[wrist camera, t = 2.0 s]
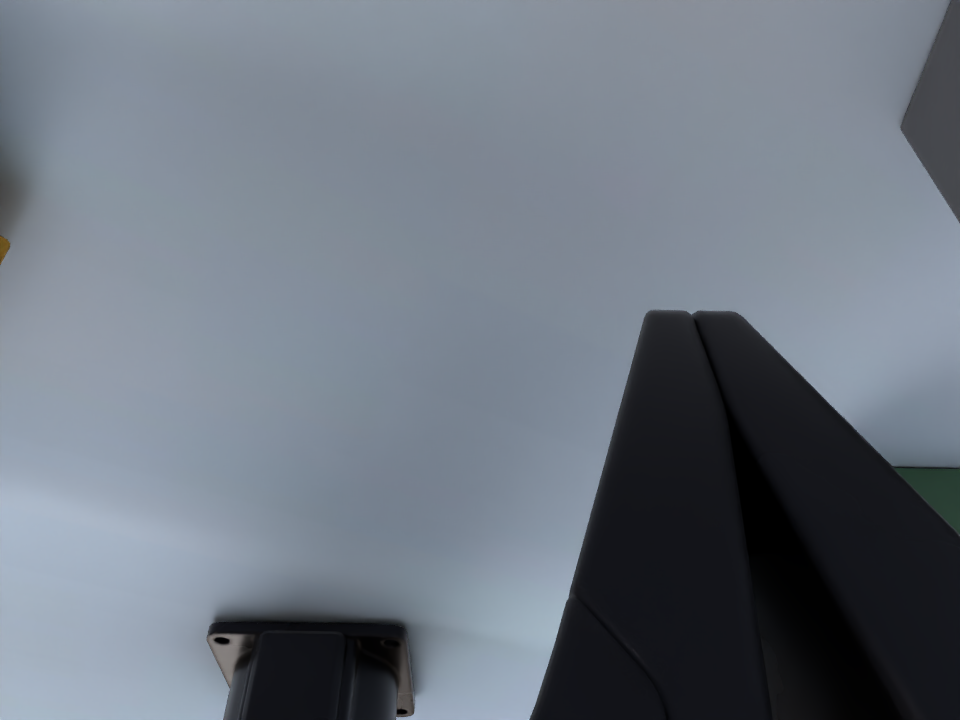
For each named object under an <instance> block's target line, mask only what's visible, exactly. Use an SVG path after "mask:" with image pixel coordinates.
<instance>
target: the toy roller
mask: <svg viewBox="0 0 960 720" xmlns="http://www.w3.org/2000/svg"><path fill="white" fill-rule="evenodd" d="M9 248H10V242H9V241H8V240H7V239H5V238H3V237H2V236H0V265H1V263H2V261H3V259H4V257H5V255H6V253H7V251H8V250H9Z"/></svg>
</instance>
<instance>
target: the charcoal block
mask: <svg viewBox="0 0 960 720" xmlns="http://www.w3.org/2000/svg"><path fill="white" fill-rule="evenodd" d="M901 131H902V133H903V134H904V136H905V137H906V139H907V141H908V142H909V144H910V145H911V147H912V148H913V150H914V152H915V153H916V155H917V156H918V158H919V159H920V161H921V163H922V164H923V166H924V167H925V169H926V170H927V172H928V174H929V175H930V177H931V178H932V180H933V182H934V183H935V185H936V186H937V188H938V189H939V191H940V193H941V194H942V196H943V197H944V199H945V200H946V202H947V204H948V205H949V207H950V208H951V210H952V212H953V213H954V215H955V216H956V218H957V219H958V221H959V223H960V0H951V3H950V5H949V8H948V10H947V13H946V15H945V18H944V20H943V23H942V25H941V28H940V30H939V33H938V35H937V38H936V40H935V42H934V45H933V47H932V50H931V52H930V55H929V57H928V60H927V62H926V65H925V67H924V70H923V72H922V75H921V77H920V80H919V82H918V85H917V87H916V90H915V92H914V95H913V97H912V100H911V102H910V105H909V107H908V110H907V112H906V115H905V117H904V119H903V122H902V124H901Z"/></svg>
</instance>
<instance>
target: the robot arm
mask: <svg viewBox="0 0 960 720" xmlns="http://www.w3.org/2000/svg"><path fill="white" fill-rule="evenodd" d="M207 642H208V644H209V646H210V648H211V650H212V652H213V654H214V656H215V658H216V661H217V663H218V665H219V667H220V669H221V671H222V673H223V675H224V677H225V679H226V681H227V684H228V686H229V688H230V691H229V695H228V700H227V705H226V709H225V714H224V718H223V720H396V717H408V716H411V715H413V714H414V709H415V697H414V688H413V679H412V670H411V662H410V653H409V644H408V635H407V631H406V629H404V628H403V627H401V626H398V625H382V624H317V623H253V622H216V623H213V624H211V625H210V627H209V631H208V635H207ZM529 720H960V534H959V533H958V532H957V531H956V530H955V529H954V528H953V527H952V526H951V525H950V524H949V523H948V522H947V521H946V520H945V519H944V518H943V517H942V516H941V515H940V514H939V513H938V512H937V511H936V510H935V509H934V508H933V507H932V506H931V505H930V504H929V503H928V502H927V501H926V500H925V499H924V498H923V497H922V496H921V495H920V494H919V493H918V492H917V491H916V490H915V489H914V488H913V487H912V486H911V485H910V484H909V483H908V482H907V481H906V480H905V479H904V478H903V477H902V476H901V475H900V474H899V473H898V472H897V471H896V470H895V469H894V468H893V467H892V466H891V465H890V464H889V463H888V462H887V461H886V460H885V459H884V458H883V457H882V456H881V455H880V454H879V453H878V452H877V451H876V450H875V449H874V448H873V447H872V446H871V445H870V444H869V443H868V442H867V441H866V440H865V439H864V438H863V437H862V436H861V435H860V434H859V433H858V432H857V431H856V430H855V429H854V428H853V427H852V426H851V425H850V424H849V423H848V422H847V421H846V420H845V419H844V418H843V417H842V416H841V415H840V414H839V413H838V412H837V411H836V410H835V409H834V408H833V407H832V406H831V405H830V404H829V403H828V402H827V401H826V400H825V399H824V398H823V397H822V396H821V395H820V394H819V393H818V392H817V391H816V390H815V389H814V388H813V387H812V386H811V385H810V384H809V383H808V382H807V381H806V380H805V379H804V378H803V377H802V376H801V375H800V374H799V373H798V372H797V371H796V370H795V369H794V368H793V367H792V366H791V365H790V364H789V363H788V362H787V361H786V360H785V359H784V358H783V357H782V356H781V355H780V354H779V353H778V352H777V351H776V350H775V349H774V348H773V347H772V346H771V345H770V344H769V343H768V342H767V341H766V340H765V339H764V338H763V337H762V336H761V335H760V334H759V333H758V332H757V331H756V330H755V329H754V328H753V327H752V326H751V325H750V324H749V323H748V322H747V320H746V319H745V318H744V317H742V316H741V315H740V314H738V313H736V312H732V311H697V312H695V313H693V314H692V315H691V314H690V313H688V312H687V311H683V310H650V311H648V312H647V313H646V315H645V317H644V320H643V324H642V328H641V331H640V335H639V339H638V342H637V346H636V350H635V353H634V357H633V361H632V364H631V368H630V372H629V375H628V379H627V383H626V386H625V390H624V394H623V397H622V401H621V405H620V408H619V412H618V416H617V419H616V423H615V427H614V430H613V434H612V438H611V441H610V445H609V449H608V452H607V456H606V460H605V464H604V467H603V471H602V475H601V478H600V482H599V486H598V489H597V493H596V497H595V500H594V504H593V508H592V511H591V515H590V519H589V522H588V526H587V530H586V533H585V537H584V541H583V544H582V548H581V552H580V555H579V559H578V563H577V566H576V570H575V574H574V577H573V581H572V585H571V588H570V593H569V599H568V600H567V602H566V605H565V608H564V612H563V616H562V619H561V623H560V627H559V630H558V634H557V638H556V641H555V645H554V648H553V651H552V654H551V657H550V660H549V664H548V667H547V670H546V673H545V676H544V679H543V683H542V686H541V689H540V692H539V695H538V698H537V702H536V704H535V707H534V709H533V712H532V714H531V717H530V719H529Z"/></svg>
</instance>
